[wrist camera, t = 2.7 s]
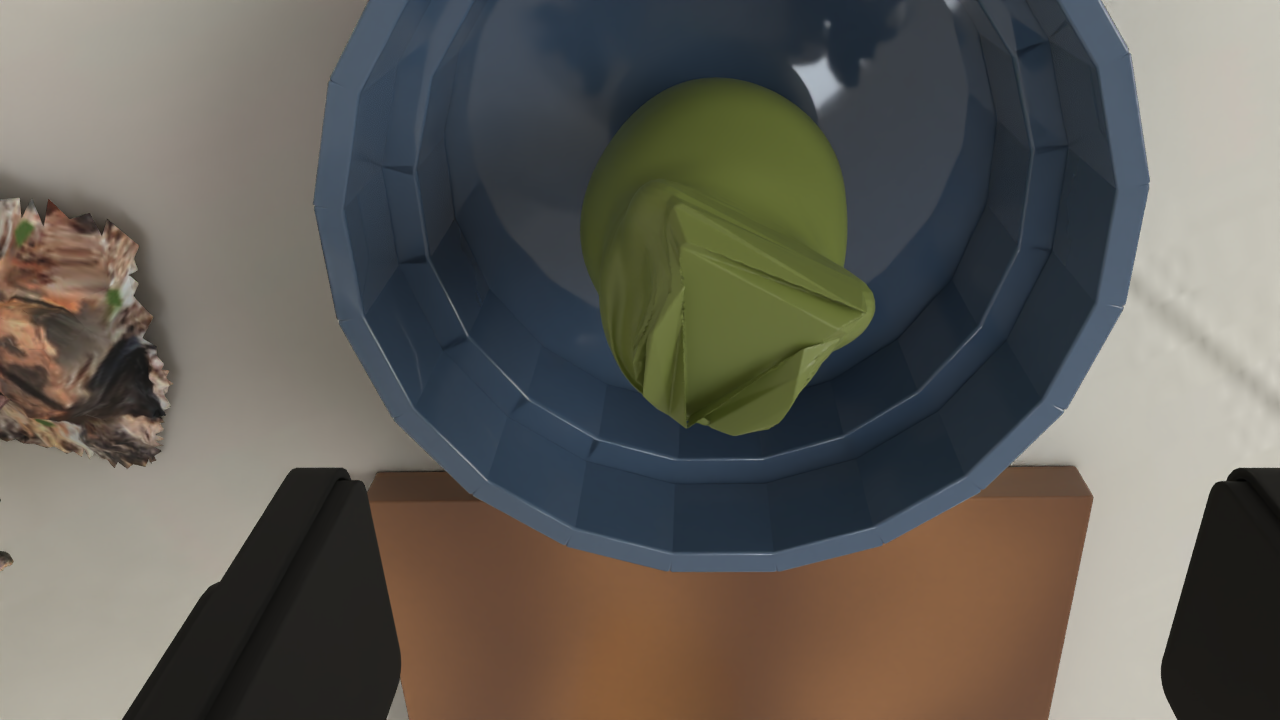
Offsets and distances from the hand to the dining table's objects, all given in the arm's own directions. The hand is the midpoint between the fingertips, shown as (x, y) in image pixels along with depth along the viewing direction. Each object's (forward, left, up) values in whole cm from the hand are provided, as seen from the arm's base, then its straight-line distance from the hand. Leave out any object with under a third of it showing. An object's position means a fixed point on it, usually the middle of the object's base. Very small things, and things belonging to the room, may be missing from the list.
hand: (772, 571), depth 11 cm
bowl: (0, 0, -15) cm, 15 cm away
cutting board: (0, -15, -15) cm, 22 cm away
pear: (0, 0, -15) cm, 15 cm away
